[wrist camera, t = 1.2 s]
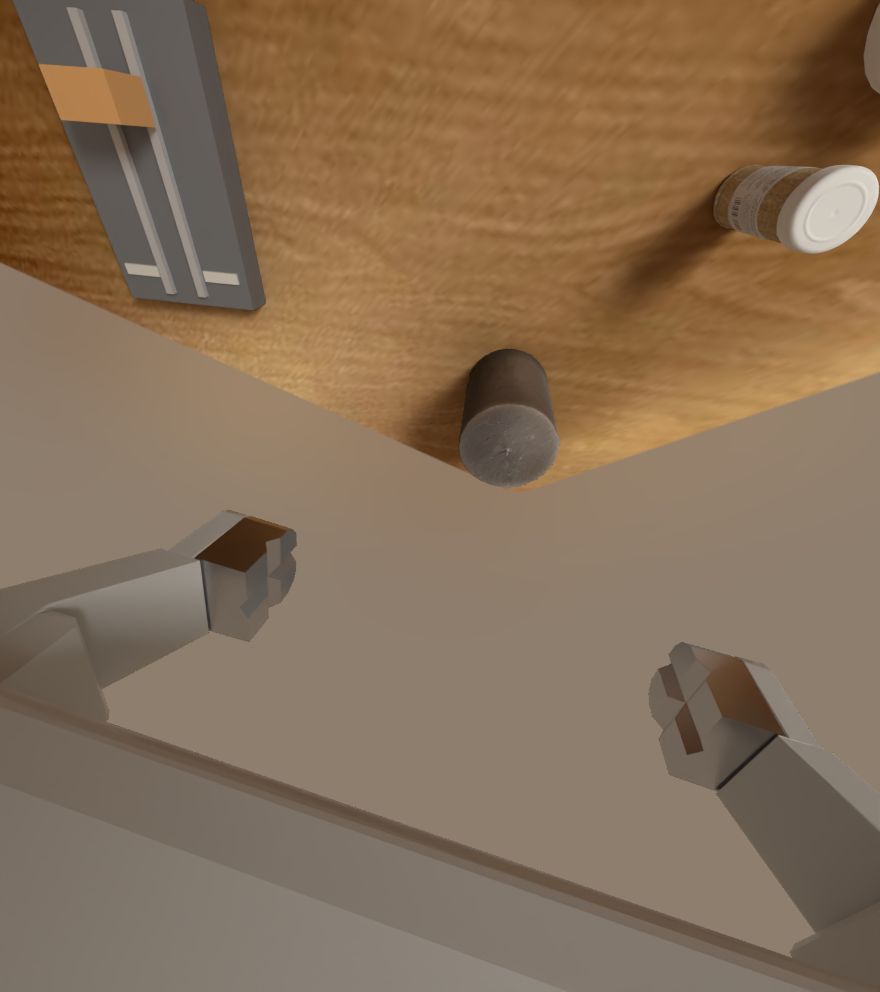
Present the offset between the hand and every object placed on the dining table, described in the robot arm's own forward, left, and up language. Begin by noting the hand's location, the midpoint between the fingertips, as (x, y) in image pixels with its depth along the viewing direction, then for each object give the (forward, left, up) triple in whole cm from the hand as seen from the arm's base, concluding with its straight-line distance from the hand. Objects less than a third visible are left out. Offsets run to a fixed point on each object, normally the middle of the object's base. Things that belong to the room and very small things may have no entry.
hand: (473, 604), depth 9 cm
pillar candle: (+14, +3, -42) cm, 44 cm away
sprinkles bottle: (-6, +20, -42) cm, 47 cm away
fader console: (-4, -33, -42) cm, 53 cm away
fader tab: (-9, -33, -39) cm, 51 cm away
